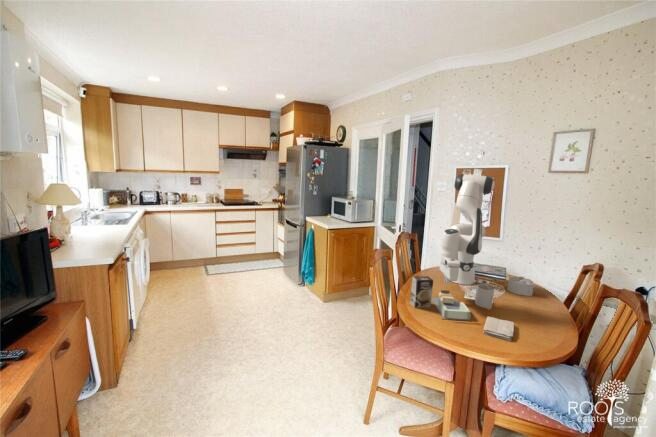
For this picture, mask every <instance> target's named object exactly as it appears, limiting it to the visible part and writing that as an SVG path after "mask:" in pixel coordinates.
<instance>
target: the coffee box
mask: <svg viewBox="0 0 656 437" xmlns="http://www.w3.org/2000/svg"><path fill="white" fill-rule="evenodd" d="M433 287H434V279H433V278H431V277H429V276H428V275H427V276H423V275H422V276H421V275H419V276H417V275H416V276H412V281H411V290H410V300H409V301H410V302H409V305H410V306H412V307H413V308H415V309H421V308H422V309H423V308H431V306H432V299H431V298H432V297H433Z"/></svg>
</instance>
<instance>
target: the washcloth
mask: <svg viewBox="0 0 656 437" xmlns="http://www.w3.org/2000/svg"><path fill="white" fill-rule="evenodd" d="M514 322H515V321H514ZM514 322H513V321H510V320H507V319H506V320H505V319H501V318H500V319H499V318H497V317H493V316H486V320H485V323H484V326H483V330H482V331H483V332H482V333H483V334H484V335H485V334H486V335H487V336H489V337H492V338H496V339H500V340H504V341H506V342H512V339H513V336H514V329H515V323H514Z"/></svg>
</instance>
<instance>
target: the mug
mask: <svg viewBox="0 0 656 437" xmlns="http://www.w3.org/2000/svg"><path fill="white" fill-rule="evenodd" d="M494 293H495V288H494V287H493V286H491V285H490V284H489V285H488V284H484V283H479V284H477V285H476V292H475V297H474V304H475V305H476V306H478V307H480V308H485V309H486V310H491V309H492V308H493V300H494Z"/></svg>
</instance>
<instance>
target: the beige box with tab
mask: <svg viewBox="0 0 656 437" xmlns="http://www.w3.org/2000/svg"><path fill="white" fill-rule="evenodd" d="M438 298H439V299H440V300H441V301H442V302H443V303H444V304H445V303H450V305H452V304H454V299H455V298H454V296H453V295H452V293H450V290H448V289H440V292H438Z"/></svg>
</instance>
